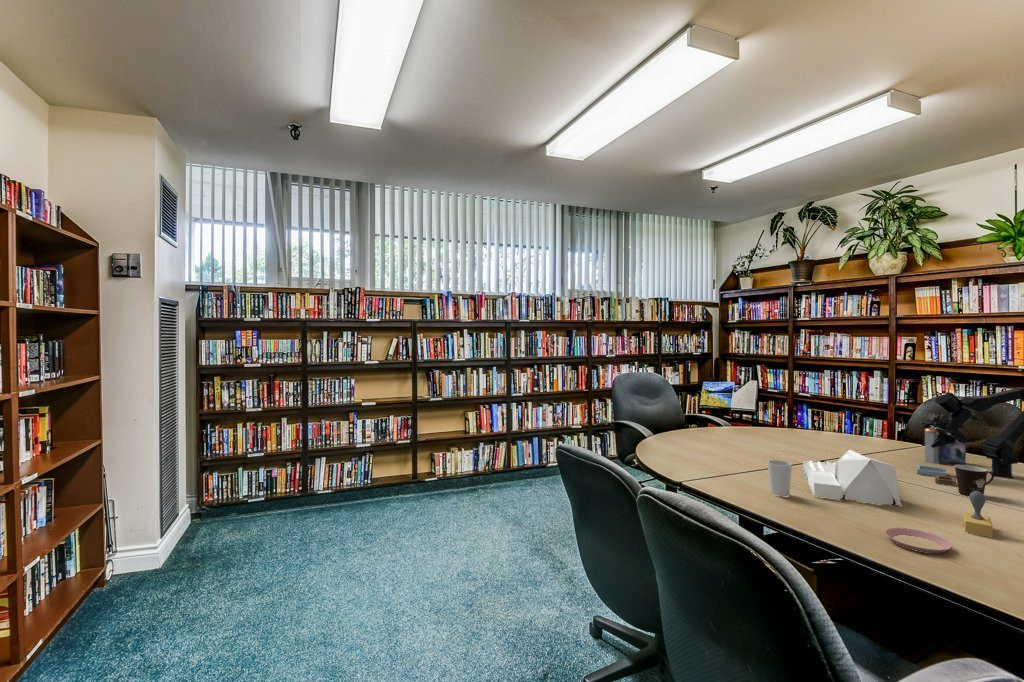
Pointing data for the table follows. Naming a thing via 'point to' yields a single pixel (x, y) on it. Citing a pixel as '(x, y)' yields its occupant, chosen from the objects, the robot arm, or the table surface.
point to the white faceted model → (854, 479)
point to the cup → (779, 477)
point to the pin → (930, 452)
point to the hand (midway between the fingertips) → (927, 445)
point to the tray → (931, 470)
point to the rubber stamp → (977, 517)
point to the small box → (952, 453)
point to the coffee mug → (971, 479)
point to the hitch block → (945, 480)
